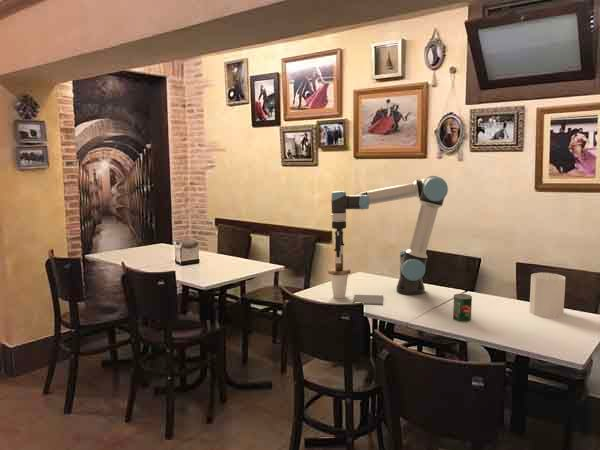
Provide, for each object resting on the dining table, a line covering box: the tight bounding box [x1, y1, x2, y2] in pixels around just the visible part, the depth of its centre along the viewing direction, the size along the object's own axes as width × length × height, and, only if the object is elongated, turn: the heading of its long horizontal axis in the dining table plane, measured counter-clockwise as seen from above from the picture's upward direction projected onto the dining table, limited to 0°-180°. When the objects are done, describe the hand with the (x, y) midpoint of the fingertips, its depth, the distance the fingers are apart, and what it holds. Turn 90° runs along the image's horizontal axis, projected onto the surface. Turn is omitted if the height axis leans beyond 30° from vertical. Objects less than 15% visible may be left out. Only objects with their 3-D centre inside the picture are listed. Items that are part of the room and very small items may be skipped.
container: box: [529, 272, 566, 319], centre depth 238 cm, size 14×14×18 cm
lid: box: [327, 253, 351, 276], centre depth 270 cm, size 12×12×10 cm
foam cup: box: [329, 274, 349, 299], centre depth 271 cm, size 10×9×13 cm
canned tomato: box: [452, 293, 473, 323], centre depth 232 cm, size 8×8×11 cm
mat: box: [352, 294, 384, 306], centre depth 264 cm, size 15×15×1 cm
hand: (339, 260), depth 269 cm, fingers open, 13 cm apart
